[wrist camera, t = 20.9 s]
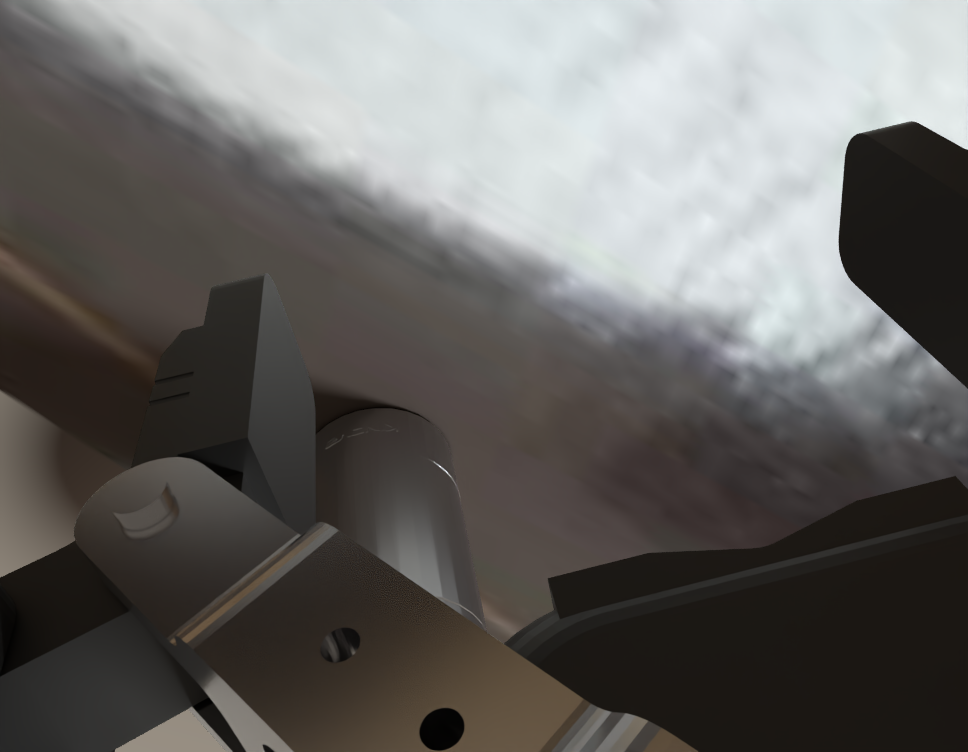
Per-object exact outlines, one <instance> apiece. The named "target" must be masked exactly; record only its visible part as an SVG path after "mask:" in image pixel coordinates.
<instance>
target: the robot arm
mask: <svg viewBox="0 0 968 752" xmlns="http://www.w3.org/2000/svg"><path fill="white" fill-rule="evenodd" d="M839 252H840V257H841V261H842V264H843V267H844V269H845V272H846V273H847V275H848V277H849V278H850V280H851V281H852V282H853V283H854V284H855V285H856V286H857V287H858V288H859V289H860V290H861V291H863V292H864V293H865V294H866V295H867V296H868V297H869V298H870V299H871V300H872V301H873V302H874V303H876V304H877V305H878V306H879V307H880V308H881V309H882V310H883V311H884V312H885V313H886V314H887V315H889V316H890V317H891V318H892V319H893V320H894V321H895V322H896V323H897V324H898V325H899V326H900V327H902V328H903V329H904V330H905V331H906V332H907V333H908V334H909V335H910V336H911V337H912V338H913V339H915V340H916V341H917V342H918V343H919V344H920V345H921V346H922V347H923V348H924V349H925V350H927V351H928V352H929V353H930V354H931V355H932V356H933V357H934V358H935V359H936V360H937V361H938V362H940V363H941V364H942V365H943V366H944V367H945V368H946V369H947V370H948V371H949V372H950V373H951V374H953V375H954V376H955V377H956V378H957V379H958V380H959V381H960V382H961V383H962V384H963V385H964V386H966V387H967V388H968V150H966V149H964V148H962V147H960V146H958V145H957V144H955V143H953V142H951V141H949V140H948V139H946V138H944V137H942V136H940V135H939V134H937V133H935V132H933V131H932V130H930V129H928V128H926V127H924V126H923V125H921V124H919V123H917V122H912V121H911V122H906V123H902V124H898V125H893V126H889V127H885V128H881V129H877V130H872V131H868V132H864V133H860V134H857V135H855V136H854V137H853V138H852V139H851V140H850V142H849V144H848V146H847V150H846V154H845V165H844V177H843V190H842V203H841V216H840V228H839ZM155 384H156V385H155V386H153V389H152V392H151V396H150V400H149V403H150V406H148V407H147V411H146V414H145V418H144V422H143V426H142V429H141V433H140V437H139V440H138V444H137V448H136V451H135V455H134V459H133V463H132V466H131V469H129V470H127V471H125V472H123V473H121V474H120V475H118V476H117V477H115V478H113V479H112V480H110V481H109V482H108V483H106V484H105V485H103V486H102V487H101V488H100V489H99V490H98V491H97V492H96V493H94V494H93V496H92V497H91V498H90V499H89V500H88V501H87V502H86V504H85V505H84V507H83V508H82V509H81V511H80V513H79V515H78V517H77V520H76V523H75V527H74V537H75V541H74V542H72V543H71V544H69V545H67V546H65V547H63V548H61V549H59V550H58V551H56V552H54V553H51V554H49V555H47V556H45V557H43V558H41V559H39V560H37V561H35V562H32V563H30V564H28V565H26V566H24V567H22V568H20V569H18V570H15V571H14V572H11V573H9V574H7V575H5V576H3V577H1V578H0V752H115V749H116V748H118V747H120V746H122V745H124V744H125V743H127V742H129V741H131V740H133V739H135V738H136V737H138V736H140V735H142V734H144V733H145V732H147V731H149V730H151V729H153V728H154V727H156V726H158V725H160V724H162V723H163V722H165V721H167V720H169V719H171V718H172V717H174V716H176V715H178V714H180V713H181V712H183V711H185V710H187V709H189V710H190V712H191V713H192V714H193V715H194V716H195V717H196V718H197V720H198V721H199V722H200V723H201V724H202V725H203V726H204V727H205V729H206V730H207V731H208V732H209V733H210V734H211V735H212V736H213V737H214V738H215V739H216V741H217V742H218V743H219V744H220V745H221V746H222V747H223V748H224V750H225V751H226V752H968V489H967V488H966V487H965V486H964V485H963V484H962V483H961V482H960V481H959V479H958V478H957V477H956V476H954V477H950V478H946V479H942V480H938V481H934V482H930V483H926V484H922V485H918V486H914V487H910V488H906V489H902V490H898V491H894V492H890V493H886V494H882V495H878V496H874V497H870V498H866V499H862V500H858V501H855V502H853V503H851V504H849V505H847V506H846V507H844V508H842V509H840V510H838V511H836V512H834V513H832V514H830V515H828V516H826V517H824V518H822V519H820V520H818V521H817V522H815V523H813V524H811V525H809V526H807V527H805V528H803V529H801V530H799V531H797V532H795V533H793V534H791V535H789V536H787V537H786V538H784V539H782V540H780V541H778V542H776V543H774V544H771V545H769V546H765V547H761V548H752V549H729V550H706V551H684V552H661V553H647V554H643V555H639V556H635V557H631V558H627V559H623V560H619V561H615V562H611V563H607V564H603V565H599V566H595V567H591V568H587V569H583V570H579V571H575V572H571V573H567V574H563V575H559V576H555V577H551V578H548V583H549V588H550V593H551V598H552V603H553V608H554V611H552V612H550V613H548V614H546V615H544V616H542V617H541V618H539V619H537V620H535V621H534V622H532V623H531V624H529V625H528V626H526V627H525V628H523V629H522V630H520V631H519V632H517V633H516V634H515V635H514V636H512V637H511V638H510V639H509V640H508V641H507V642H505V643H504V644H503V643H502V642H500V641H499V640H497V639H496V638H495V637H493V636H492V635H490V634H489V633H487V628H486V623H485V618H484V614H483V609H482V604H481V599H480V594H479V589H478V584H477V579H476V574H475V569H474V564H473V560H472V555H471V550H470V545H469V540H468V535H467V530H466V525H465V520H464V515H463V510H462V505H461V501H460V494H459V489H458V484H457V480H456V475H455V470H454V465H453V460H452V456H451V452H450V448H449V445H448V443H447V441H446V439H445V438H444V436H443V434H442V433H441V432H440V431H439V430H438V429H437V428H436V427H435V426H434V425H433V424H431V423H430V422H428V421H427V420H425V419H424V418H422V417H420V416H418V415H415V414H412V413H410V412H407V411H402V410H397V409H392V408H373V409H366V410H360V411H356V412H353V413H350V414H347V415H344V416H342V417H340V418H338V419H336V420H334V421H333V422H331V423H329V424H328V425H326V426H325V427H324V428H323V429H322V430H320V431H319V432H318V433H317V434H316V435H315V402H314V396H313V391H312V386H311V382H310V378H309V375H308V372H307V369H306V366H305V363H304V360H303V358H302V355H301V352H300V350H299V347H298V344H297V342H296V339H295V336H294V334H293V331H292V328H291V325H290V323H289V320H288V317H287V315H286V312H285V309H284V307H283V304H282V301H281V299H280V296H279V293H278V291H277V288H276V286H275V284H274V282H273V280H272V278H271V277H270V275H269V274H267V273H266V274H262V275H258V276H254V277H249V278H245V279H241V280H237V281H233V282H228V283H224V284H220V285H216V286H213V287H212V288H211V292H210V297H209V302H208V306H207V311H206V316H205V321H204V326H200V327H196V328H192V329H188V330H184V331H182V332H181V333H180V334H179V336H178V337H177V338H176V339H175V340H174V342H173V343H172V344H171V345H170V346H169V347H168V349H167V350H166V351H165V352H164V353H163V355H162V356H161V359H160V363H159V366H158V370H157V374H156V377H155Z"/></svg>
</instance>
